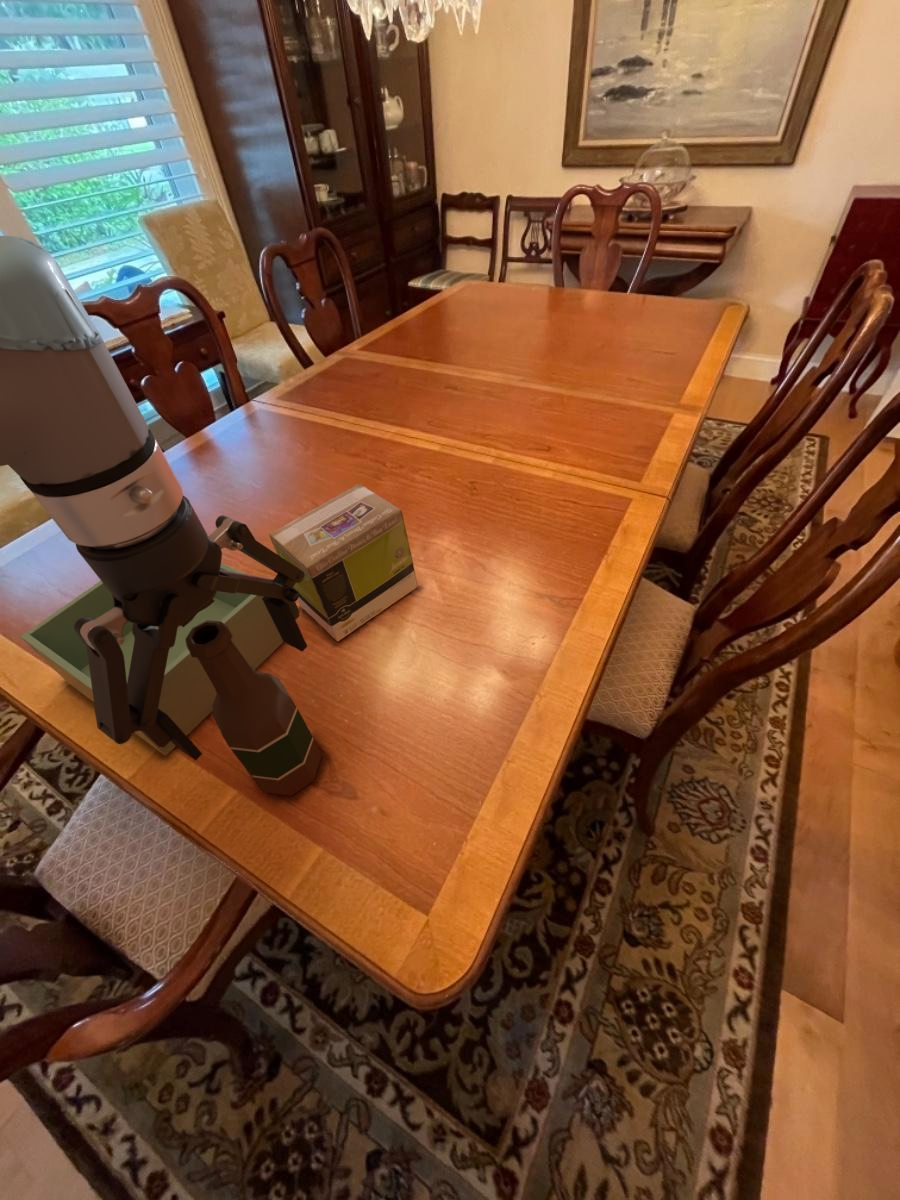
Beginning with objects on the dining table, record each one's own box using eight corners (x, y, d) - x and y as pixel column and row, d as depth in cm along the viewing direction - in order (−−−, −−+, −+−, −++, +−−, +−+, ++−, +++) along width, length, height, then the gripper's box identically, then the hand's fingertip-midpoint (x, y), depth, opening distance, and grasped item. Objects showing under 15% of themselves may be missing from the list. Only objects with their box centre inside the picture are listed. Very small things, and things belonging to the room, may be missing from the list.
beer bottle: (291, 812, 58) (198, 686, 41) (242, 778, 61) (136, 648, 44) (337, 754, 62) (271, 618, 45) (289, 725, 65) (209, 588, 48)
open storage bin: (165, 756, 64) (122, 711, 57) (68, 683, 73) (19, 636, 66) (291, 634, 76) (268, 584, 69) (194, 584, 85) (165, 535, 78)
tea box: (379, 558, 86) (360, 479, 75) (419, 588, 80) (405, 508, 69) (299, 608, 79) (266, 530, 69) (336, 645, 74) (307, 567, 63)
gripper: (-37, 674, 27) (162, 828, 43) (299, 438, 41) (358, 620, 56) (-97, 621, 30) (108, 783, 46) (233, 419, 44) (306, 596, 59)
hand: (246, 693), depth 51 cm, fingers open, 13 cm apart
